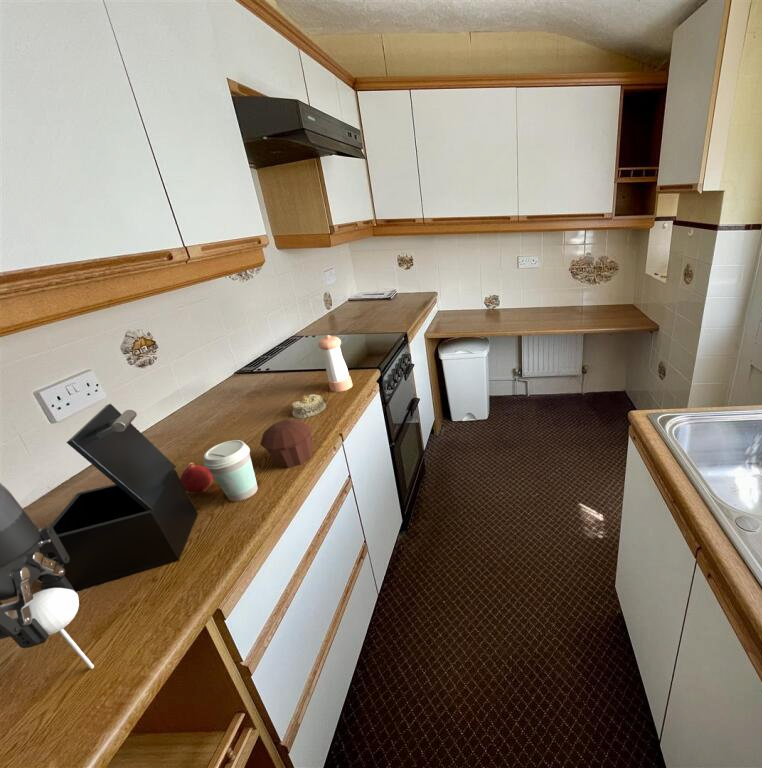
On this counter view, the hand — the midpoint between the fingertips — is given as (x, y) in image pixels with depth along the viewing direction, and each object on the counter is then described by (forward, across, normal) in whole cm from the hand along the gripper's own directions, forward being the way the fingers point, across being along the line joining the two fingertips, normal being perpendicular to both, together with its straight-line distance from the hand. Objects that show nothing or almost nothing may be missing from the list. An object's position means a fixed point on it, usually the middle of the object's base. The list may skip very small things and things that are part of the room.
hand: (52, 619), depth 54 cm
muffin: (+11, -45, +24) cm, 52 cm away
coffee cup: (+11, -35, +14) cm, 39 cm away
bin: (+11, -25, -2) cm, 27 cm away
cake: (+11, -72, +27) cm, 78 cm away
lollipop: (+11, 0, 0) cm, 11 cm away
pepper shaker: (+11, -85, +37) cm, 93 cm away
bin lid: (-9, -25, +3) cm, 27 cm away
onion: (+11, -40, +5) cm, 42 cm away
